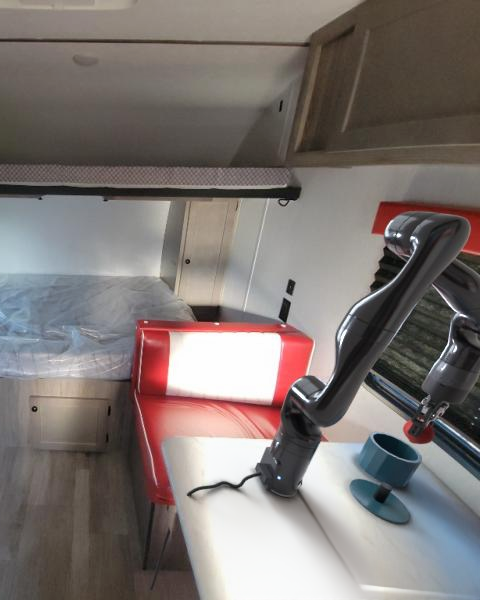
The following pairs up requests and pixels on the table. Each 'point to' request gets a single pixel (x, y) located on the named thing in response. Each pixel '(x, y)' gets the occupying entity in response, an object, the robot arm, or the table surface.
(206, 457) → the table surface
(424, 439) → the onion
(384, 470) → the pot
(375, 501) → the lid
